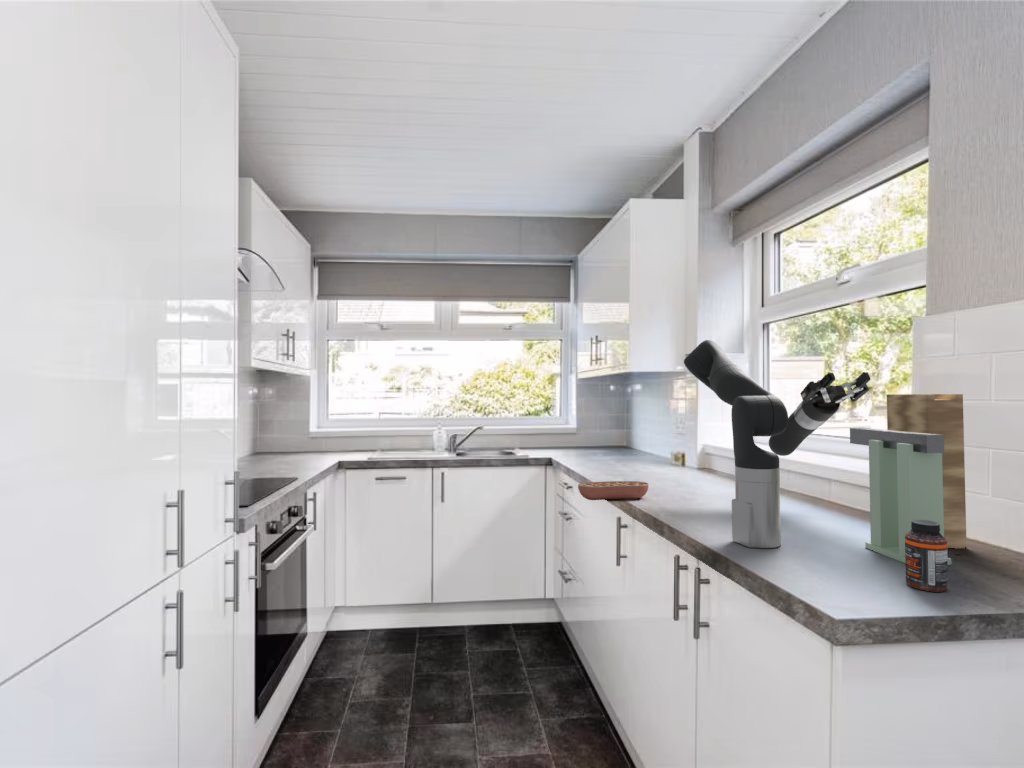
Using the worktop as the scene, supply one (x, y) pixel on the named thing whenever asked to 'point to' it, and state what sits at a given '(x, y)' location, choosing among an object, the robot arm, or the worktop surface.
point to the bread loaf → (613, 490)
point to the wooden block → (946, 420)
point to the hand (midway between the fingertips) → (850, 375)
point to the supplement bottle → (926, 557)
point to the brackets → (902, 495)
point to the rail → (899, 439)
